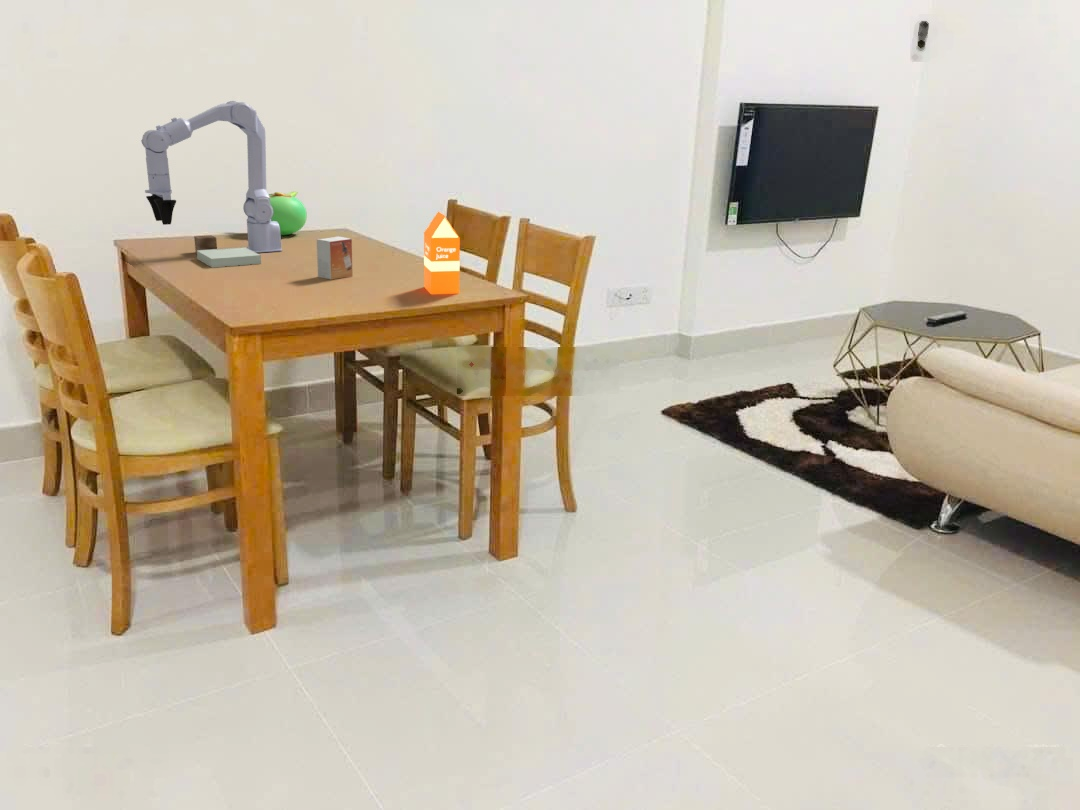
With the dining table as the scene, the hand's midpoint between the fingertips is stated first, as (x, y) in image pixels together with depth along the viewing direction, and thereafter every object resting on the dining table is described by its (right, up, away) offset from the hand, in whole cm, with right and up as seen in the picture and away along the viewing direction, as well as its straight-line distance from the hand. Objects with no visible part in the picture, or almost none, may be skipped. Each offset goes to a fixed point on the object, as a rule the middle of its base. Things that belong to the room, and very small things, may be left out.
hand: (163, 222), depth 255 cm
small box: (+53, -18, -12) cm, 57 cm away
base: (+18, -11, +2) cm, 22 cm away
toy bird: (+20, +6, +48) cm, 52 cm away
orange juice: (+83, -23, -22) cm, 89 cm away
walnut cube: (+8, -7, +12) cm, 16 cm away
